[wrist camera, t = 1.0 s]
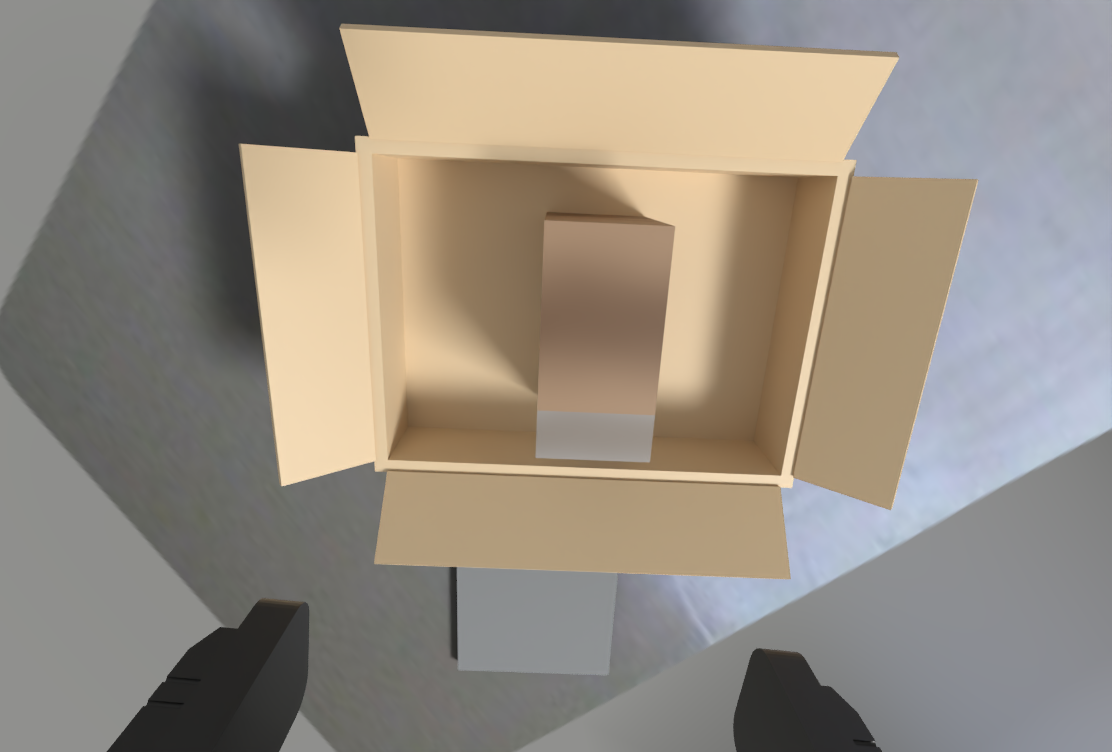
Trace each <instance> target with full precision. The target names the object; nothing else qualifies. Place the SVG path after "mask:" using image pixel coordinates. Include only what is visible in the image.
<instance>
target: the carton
mask: <svg viewBox="0 0 1112 752" xmlns="http://www.w3.org/2000/svg"><path fill="white" fill-rule="evenodd" d="M339 29H340V33H341V36H342V40H343V43H344V47H345V51H346V54H347V58H348V62H349V65H350V69H351V72H352V76H353V80H354V83H355V87H356V91H357V94H358V98H359V101H360V105H361V109H362V112H363V116H364V120H365V123H366V127H367V130H368V134H369V136H355V148H356V152H343V151H330V150H317V149H304V148H291V147H277V146H264V145H251V144H239V151H240V159H241V168H242V176H243V184H244V193H245V201H246V209H247V218H248V226H249V234H250V243H251V251H252V259H253V267H254V276H255V284H256V292H257V301H258V309H259V317H260V326H261V334H262V342H263V351H264V359H265V367H266V376H267V384H268V392H269V400H270V409H271V417H272V425H273V434H274V442H275V450H276V459H277V467H278V475H279V483H280V485H281V486H285V485H289V484H292V483H296V482H300V481H303V480H307V479H311V478H314V477H318V476H322V475H325V474H329V473H333V472H336V471H340V470H344V469H347V468H351V467H355V466H358V465H362V464H366V463H369V462H373V461H375V471H380V472H387V478H386V485H385V492H384V499H383V506H382V512H381V519H380V526H379V533H378V540H377V547H376V554H375V561H374V564H391V565H418V566H445V567H472V568H499V569H526V570H553V571H580V572H607V573H634V574H661V575H688V576H715V577H742V578H768V579H791V578H790V569H789V560H788V551H787V542H786V533H785V524H784V515H783V506H782V497H781V488H780V487H783V488H792V485H793V480H794V478H796V479H799V480H802V481H805V482H808V483H811V484H814V485H817V486H820V487H823V488H826V489H829V490H832V491H835V492H838V493H841V494H844V495H847V496H850V497H853V498H856V499H859V500H862V501H865V502H868V503H871V504H874V505H877V506H880V507H883V508H886V509H889V510H891V509H892V507H893V503H894V499H895V495H896V492H897V488H898V484H899V480H900V476H901V473H902V469H903V465H904V461H905V457H906V454H907V450H908V446H909V442H910V438H911V435H912V431H913V427H914V423H915V419H916V416H917V412H918V408H919V404H920V400H921V397H922V393H923V389H924V385H925V381H926V378H927V374H928V370H929V366H930V362H931V359H932V355H933V351H934V347H935V343H936V340H937V336H938V332H939V328H940V324H941V321H942V317H943V313H944V309H945V305H946V302H947V298H948V294H949V290H950V286H951V283H952V279H953V275H954V271H955V267H956V264H957V260H958V256H959V252H960V248H961V245H962V241H963V237H964V233H965V229H966V226H967V222H968V218H969V214H970V210H971V206H972V203H973V199H974V195H975V191H976V187H977V184H978V179H937V178H894V177H853V176H854V171H855V166H856V160H843V159H844V158H845V156H846V154H847V152H848V150H849V148H850V147H851V145H852V143H853V141H854V139H855V138H856V136H857V134H858V132H859V130H860V128H861V127H862V125H863V123H864V121H865V119H866V117H867V116H868V114H869V112H870V110H871V108H872V106H873V105H874V103H875V101H876V99H877V97H878V96H879V94H880V92H881V90H882V88H883V86H884V85H885V83H886V81H887V79H888V77H889V75H890V74H891V72H892V70H893V68H894V66H895V65H896V63H897V61H898V59H899V56H898V54H897V52H879V51H860V50H841V49H821V48H802V47H783V46H764V45H744V44H725V43H706V42H687V41H667V40H648V39H629V38H610V37H590V36H571V35H552V34H533V33H513V32H494V31H475V30H455V29H436V28H417V27H398V26H378V25H359V24H341V26H340V28H339ZM547 212H559V213H580V214H601V215H622V216H644V217H648V218H651V219H654V220H657V221H660V222H663V223H666V224H669V225H673V226H675V234H674V244H673V253H672V262H671V271H670V281H669V290H668V299H667V309H666V318H665V327H664V336H663V346H662V355H661V364H660V374H659V383H658V392H657V401H656V411H655V420H654V429H653V439H652V448H651V457H650V463H649V462H624V461H599V460H574V459H549V458H535V456H536V430H537V403H538V377H539V350H540V323H541V297H542V270H543V243H544V220H545V217H546V214H547Z"/></svg>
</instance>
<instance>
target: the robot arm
mask: <svg viewBox="0 0 1112 752" xmlns="http://www.w3.org/2000/svg"><path fill="white" fill-rule="evenodd" d="M308 647H309V606H308V604H307V603H306V602H297V601H287V600H277V599H266V598H262V599H260V600H259V601H258V602H257V603H256V604H255V606H254V607H253V608H252V610H251V611H250V613H249V614H248V615H247V617H246V618H245V620H244V621H243V622H242V624H241V625H240V626H239V628H238V629H234V628H223V627H220V628H218V629H217V630H215V631H214V632H213V633H211V634H210V635H208V636H207V637H205V638H204V639H203V640H201V641H200V642H198V643H197V644H196V645H194V646H193V647H191V648H190V649H189V650H188V651H187V652H186V653H185V655H184V656H183V657H182V658H181V660H180V661H179V662H178V663H177V665H176V666H175V667H174V668H173V670H172V671H171V672H170V673H169V675H168V676H167V679H166V681H165V682H162V683H161V685H160V686H159V687H158V688H157V690H156V691H155V692H154V693H153V695H152V696H151V697H150V698H149V700H148V703H147V705H146V706H143V707H142V708H141V710H140V711H139V712H138V713H137V715H136V716H135V717H134V718H133V720H132V721H131V722H130V723H129V725H128V726H127V727H126V728H125V730H124V731H123V732H122V733H121V735H120V736H119V737H118V738H117V740H116V741H115V742H114V743H113V745H112V746H111V747H110V748H109V750H108V751H107V752H279V751H280V749H281V746H282V745H283V743H284V740H285V738H286V736H287V734H288V732H289V730H290V728H291V726H292V724H293V722H294V720H295V718H296V715H297V713H298V711H299V708H300V706H301V703H302V700H303V696H304V692H305V688H306V683H307V676H308ZM733 725H734V726H733V728H734V741H735V746H736V750H737V752H882V751H881V749H880V748H879V747H876V744H875V742H876V741H875V740H874V738H873V737H872V735H871V733H870V732H869V730H868V729H867V727H866V725H865V724H864V722H863V721H862V719H861V717H860V716H859V714H858V713H857V712H856V711H855V710H854V709H853V708H852V707H851V706H850V705H849V704H848V703H847V702H846V701H845V700H844V699H843V698H842V697H841V696H839V694H838V693H837V692H836V691H835V690H834V689H832V688H831V687H829V686H821V685H820V684H819V682H818V680H817V679H816V677H815V675H814V673H813V672H812V670H811V668H810V667H809V665H808V663H807V662H806V660H805V658H804V657H803V656H802V655H801V654H800V653H798V652H790V651H780V650H770V649H760V648H759V649H756V650H754V651H753V653H752V655H751V658H750V661H749V665H748V668H747V672H746V675H745V679H744V682H743V686H742V689H741V693H740V696H739V700H738V703H737V707H736V711H735V715H734V724H733Z"/></svg>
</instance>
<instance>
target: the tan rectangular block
mask: <svg viewBox="0 0 1112 752" xmlns="http://www.w3.org/2000/svg"><path fill="white" fill-rule="evenodd" d="M674 234H675V226H673V225H669V224H666V223H663V222H660V221H657V220H654V219H651V218H648V217H644V216H622V215H601V214H580V213H559V212H547V214H546V217H545V220H544V243H543V270H542V297H541V323H540V350H539V377H538V403H537V430H536V456H535V458H549V459H574V460H599V461H624V462H649V463H650V457H651V448H652V439H653V429H654V420H655V411H656V401H657V392H658V383H659V374H660V364H661V355H662V346H663V336H664V327H665V318H666V309H667V299H668V290H669V281H670V271H671V262H672V253H673V244H674Z"/></svg>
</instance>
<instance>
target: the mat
mask: <svg viewBox="0 0 1112 752" xmlns="http://www.w3.org/2000/svg"><path fill="white" fill-rule="evenodd" d="M617 579H618V573H607V572H580V571H553V570H526V569H499V568H472V567H457V632H458V670H468V671H497V672H526V673H556V674H585V675H608V674H609V663H610V653H611V642H612V632H613V621H614V610H615V600H616V589H617Z"/></svg>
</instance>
